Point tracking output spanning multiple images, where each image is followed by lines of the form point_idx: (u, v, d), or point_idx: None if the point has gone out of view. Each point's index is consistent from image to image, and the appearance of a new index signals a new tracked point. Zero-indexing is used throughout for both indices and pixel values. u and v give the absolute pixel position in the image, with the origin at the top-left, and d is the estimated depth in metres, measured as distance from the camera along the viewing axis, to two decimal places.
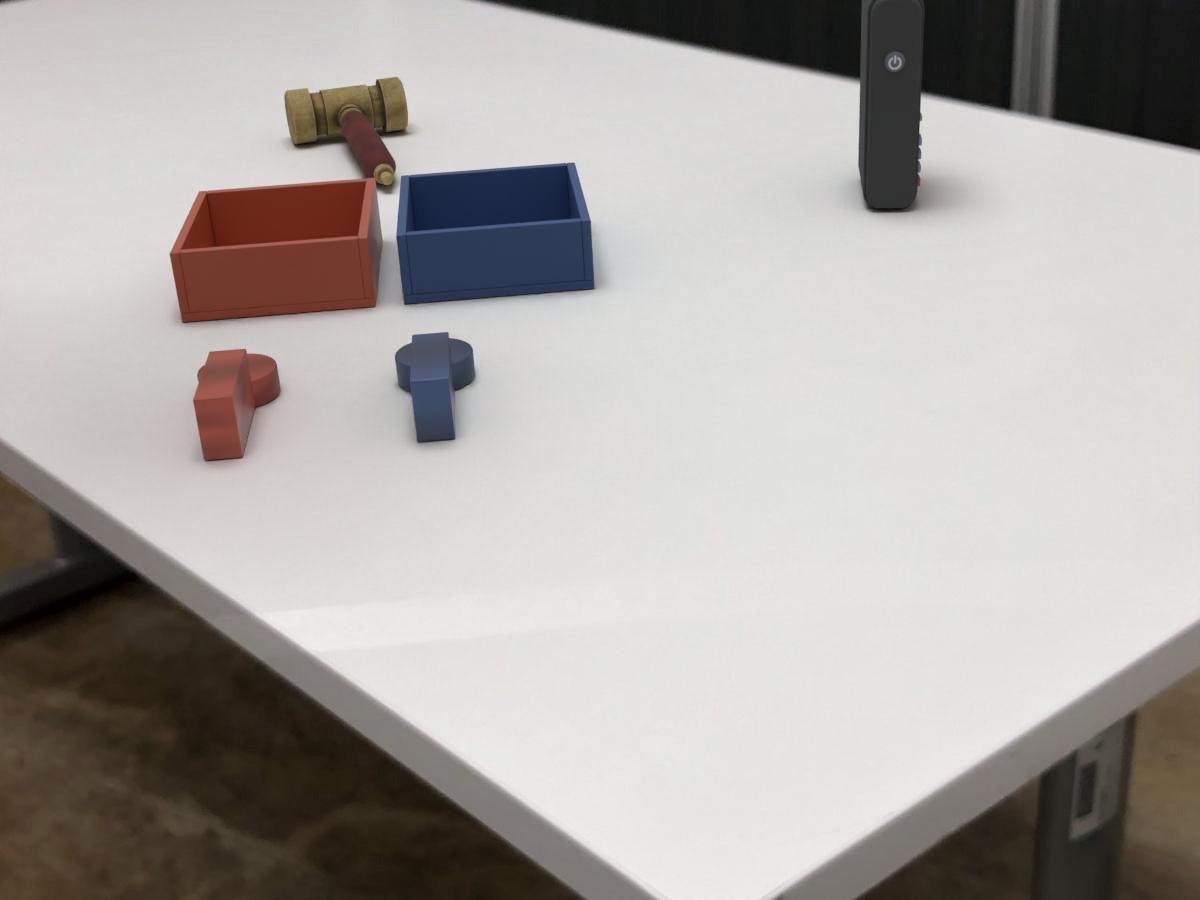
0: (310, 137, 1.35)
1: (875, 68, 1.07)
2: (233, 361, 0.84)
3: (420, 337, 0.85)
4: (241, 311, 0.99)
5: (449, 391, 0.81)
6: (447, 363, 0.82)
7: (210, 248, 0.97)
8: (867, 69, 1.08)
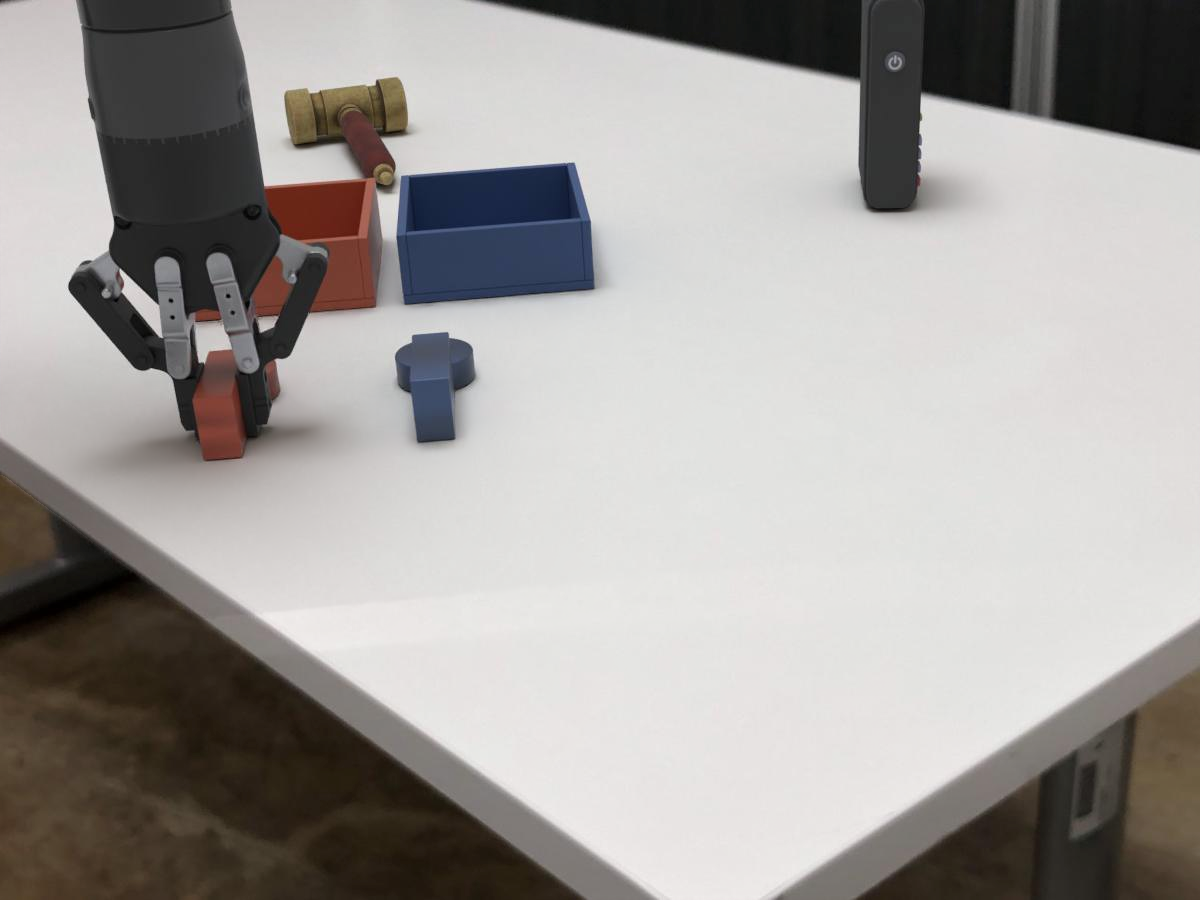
0: (310, 137, 1.35)
1: (875, 68, 1.07)
2: (232, 361, 0.84)
3: (420, 337, 0.85)
4: None
5: (449, 391, 0.81)
6: (447, 363, 0.82)
7: None
8: (867, 69, 1.08)
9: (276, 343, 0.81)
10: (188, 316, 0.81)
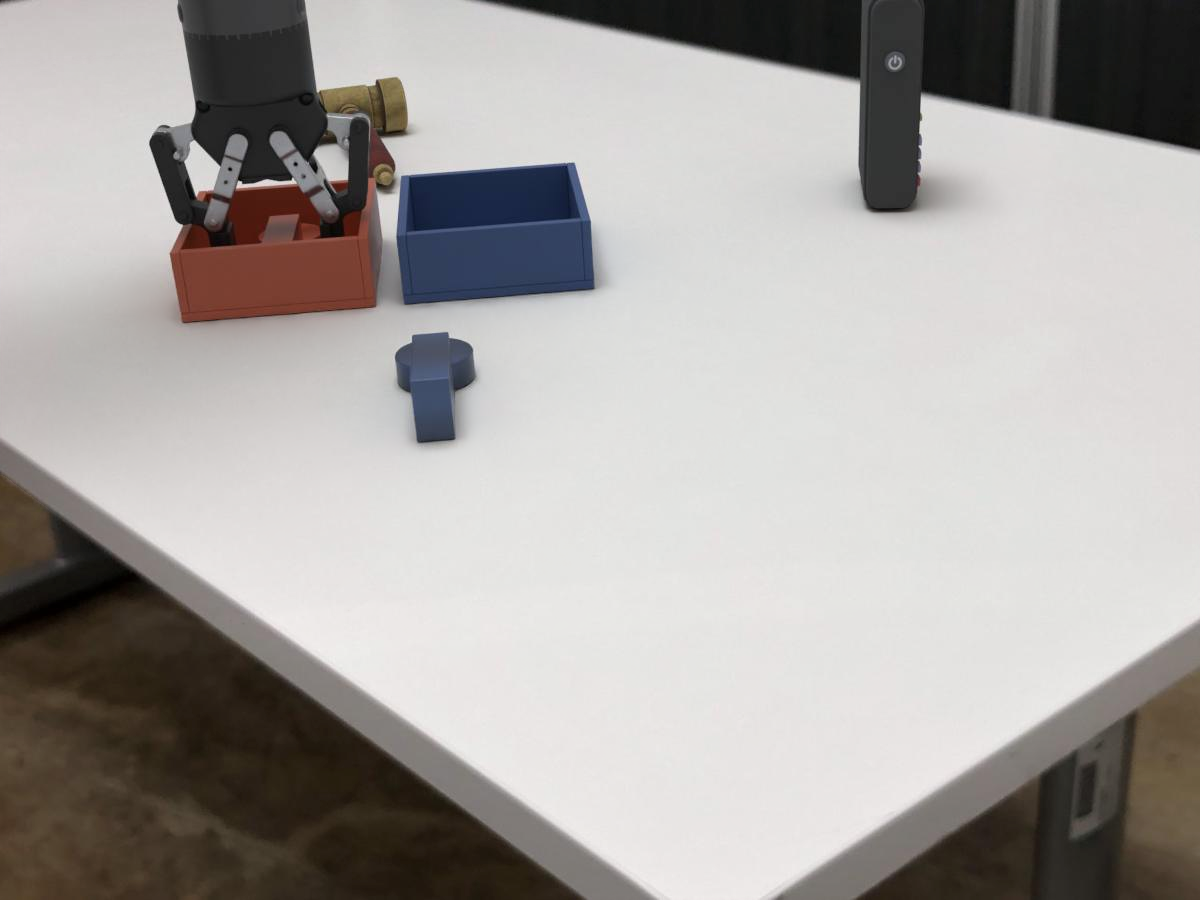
0: None
1: (875, 68, 1.07)
2: (289, 222, 1.03)
3: (420, 337, 0.85)
4: (241, 311, 0.99)
5: (449, 391, 0.81)
6: (447, 363, 0.82)
7: (210, 248, 0.97)
8: (867, 69, 1.08)
9: (353, 198, 1.00)
10: (235, 186, 1.00)
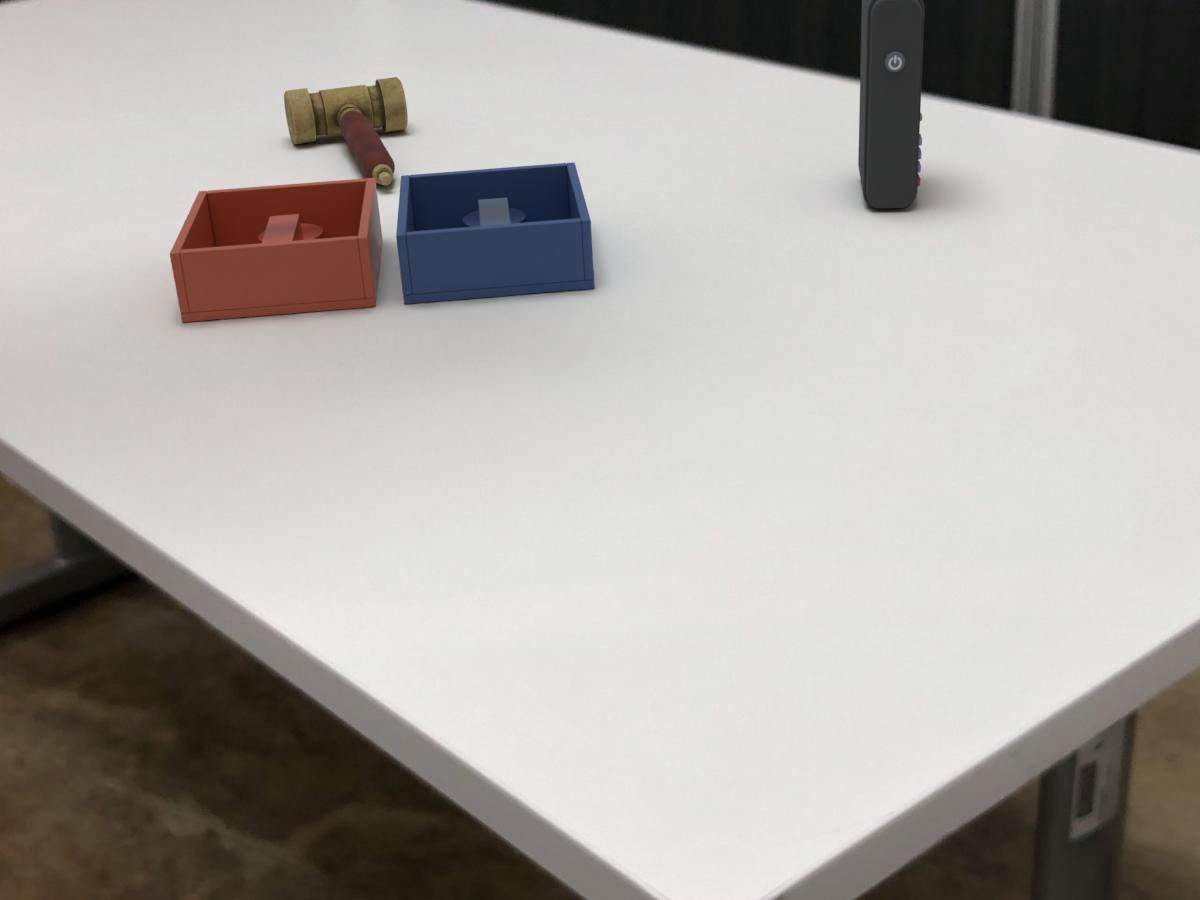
0: (309, 137, 1.35)
1: (875, 68, 1.07)
2: (289, 222, 1.03)
3: (485, 201, 1.05)
4: (241, 311, 0.99)
5: None
6: (509, 217, 1.01)
7: (210, 248, 0.97)
8: (867, 69, 1.08)
9: None
10: None
